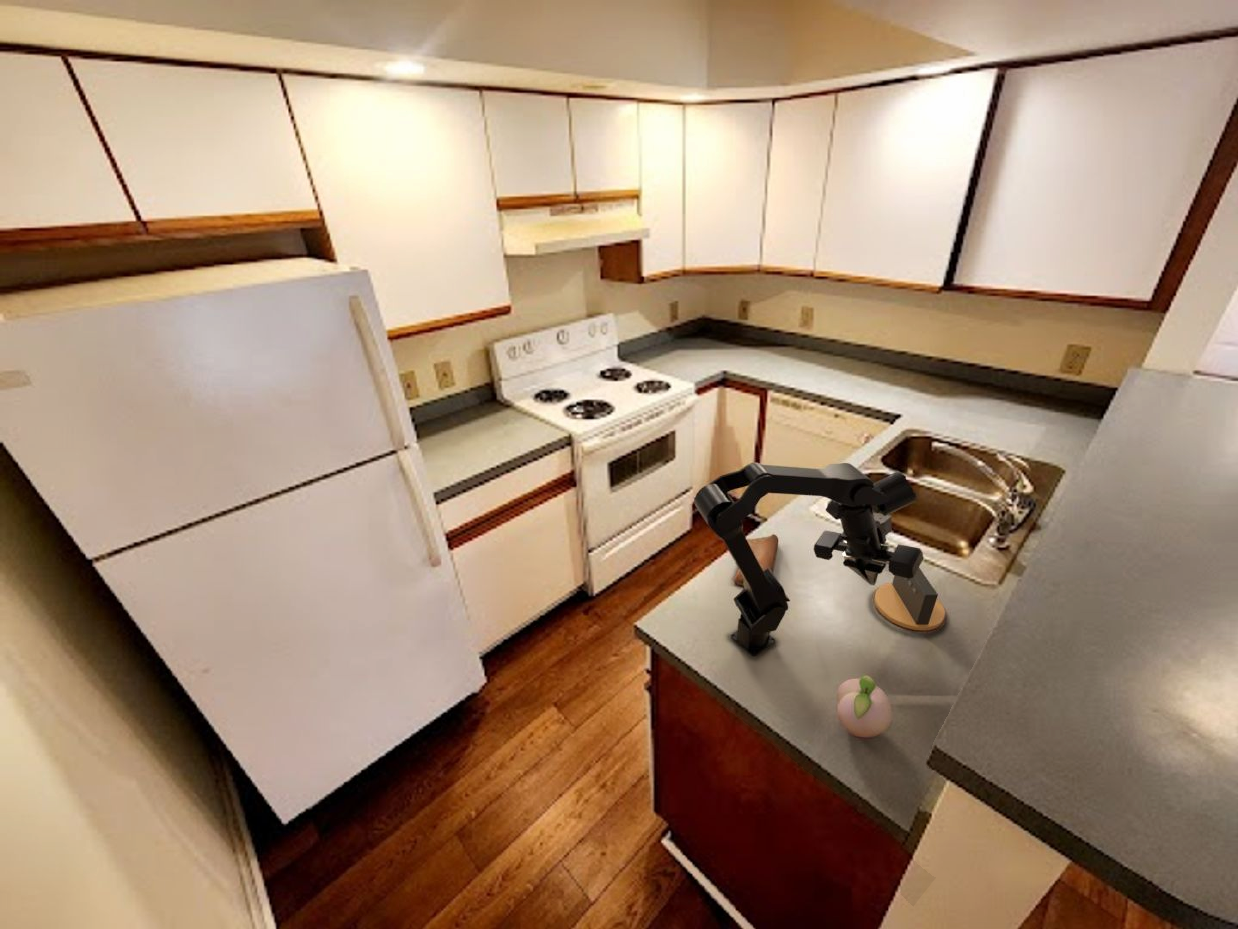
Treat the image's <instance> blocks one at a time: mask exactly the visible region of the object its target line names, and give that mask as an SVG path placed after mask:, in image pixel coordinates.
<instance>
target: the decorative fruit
mask: <svg viewBox="0 0 1238 929" xmlns="http://www.w3.org/2000/svg"><path fill="white" fill-rule="evenodd" d="M837 703H838V704H837V708H836V713H837V717H838V719H839V722H840V723H841V725H842V726H843V728H844V729H845V730H846V731H847V732H848V733H850V734H851V735H853V736H855V737H858V738H873V737H876V736H879V735H881V734H883V733H884V732H885V731H886V730H887V729H888V727H889V726H890V724H891V721H892V707H891V702H890V699H889V697H888V696H887V695H886V693H885V692H884V691H883V690H882V689H881V688H880V687H879V686H877V685H876V683H875V681H874V680H873V678H871V677H870V676H869V675H863V676H862V677H860V678H849V679H846V680H845V681H844V682H842V683H841V685H840V686H839V687H838V691H837Z"/></svg>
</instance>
